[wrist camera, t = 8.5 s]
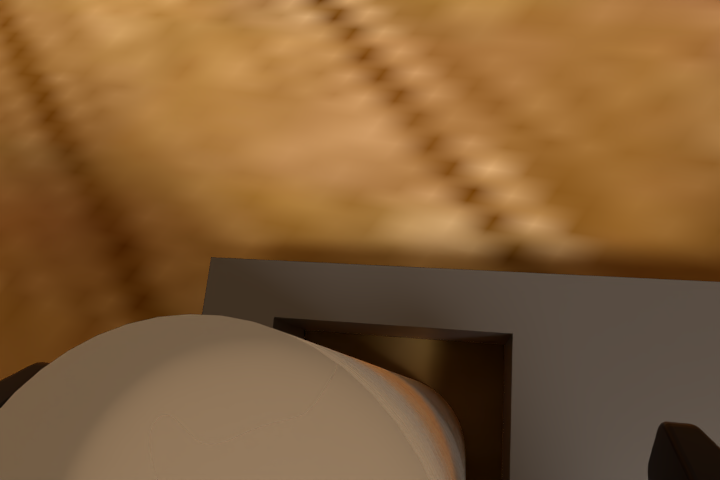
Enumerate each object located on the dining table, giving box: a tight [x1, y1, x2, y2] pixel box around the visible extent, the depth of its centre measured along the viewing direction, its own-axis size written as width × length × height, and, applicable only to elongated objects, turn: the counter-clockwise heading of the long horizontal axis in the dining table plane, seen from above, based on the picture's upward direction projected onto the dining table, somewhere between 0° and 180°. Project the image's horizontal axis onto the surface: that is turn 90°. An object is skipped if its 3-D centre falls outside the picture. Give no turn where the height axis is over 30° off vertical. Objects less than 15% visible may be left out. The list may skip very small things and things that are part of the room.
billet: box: [0, 314, 466, 480], centre depth 10 cm, size 4×4×13 cm
